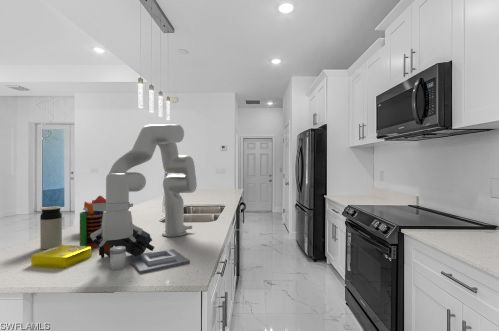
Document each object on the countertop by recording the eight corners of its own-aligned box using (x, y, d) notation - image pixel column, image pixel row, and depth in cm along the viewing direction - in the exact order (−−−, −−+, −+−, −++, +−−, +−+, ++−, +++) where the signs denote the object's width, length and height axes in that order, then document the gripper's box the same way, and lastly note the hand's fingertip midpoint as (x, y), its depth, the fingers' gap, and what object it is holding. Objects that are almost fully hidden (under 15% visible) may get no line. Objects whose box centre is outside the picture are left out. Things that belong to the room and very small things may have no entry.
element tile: (62, 254, 120) (62, 243, 120) (93, 256, 117) (93, 245, 117) (28, 267, 105) (28, 254, 105) (63, 270, 102) (63, 256, 102)
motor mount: (173, 251, 122) (173, 245, 122) (189, 263, 107) (189, 256, 107) (128, 259, 112) (128, 253, 112) (140, 273, 97) (139, 266, 97)
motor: (91, 250, 124) (91, 204, 124) (74, 249, 126) (73, 203, 126) (107, 243, 134) (107, 201, 134) (91, 243, 136) (90, 201, 136)
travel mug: (65, 246, 131) (65, 206, 131) (47, 250, 124) (47, 209, 124) (55, 244, 134) (54, 205, 134) (36, 248, 127) (36, 208, 127)
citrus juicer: (94, 227, 170) (94, 193, 170) (121, 228, 168) (121, 194, 168) (74, 233, 155) (74, 196, 155) (104, 234, 152) (104, 197, 152)
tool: (101, 247, 119) (119, 215, 119) (142, 268, 120) (160, 237, 121) (94, 251, 113) (114, 218, 113) (138, 274, 114) (157, 241, 115)
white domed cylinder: (124, 263, 107) (124, 245, 107) (127, 268, 103) (127, 248, 103) (108, 266, 104) (108, 247, 104) (111, 271, 100) (111, 251, 100)
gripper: (139, 204, 111) (139, 248, 111) (89, 208, 101) (88, 256, 101) (144, 206, 105) (144, 253, 105) (91, 210, 95) (91, 262, 95)
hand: (117, 254), depth 103 cm, fingers open, 9 cm apart
